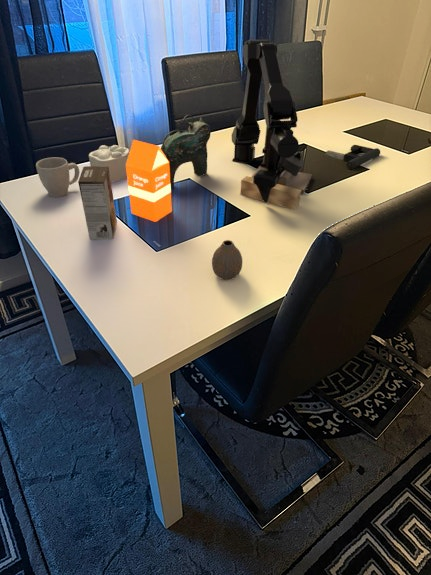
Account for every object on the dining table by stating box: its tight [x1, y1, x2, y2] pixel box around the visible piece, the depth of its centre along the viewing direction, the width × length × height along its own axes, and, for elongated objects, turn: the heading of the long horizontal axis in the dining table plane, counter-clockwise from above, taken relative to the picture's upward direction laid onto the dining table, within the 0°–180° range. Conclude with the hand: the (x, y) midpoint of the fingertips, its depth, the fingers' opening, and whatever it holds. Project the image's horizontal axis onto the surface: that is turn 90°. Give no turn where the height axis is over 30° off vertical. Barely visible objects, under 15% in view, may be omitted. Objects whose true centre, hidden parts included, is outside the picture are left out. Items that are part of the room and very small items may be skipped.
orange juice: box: [126, 139, 173, 223], centre depth 113 cm, size 8×9×20 cm
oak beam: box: [239, 175, 302, 210], centre depth 125 cm, size 18×4×5 cm, turn 59°
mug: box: [35, 156, 81, 198], centre depth 125 cm, size 12×9×10 cm
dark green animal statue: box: [160, 114, 211, 188], centre depth 131 cm, size 20×6×20 cm, turn 134°
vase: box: [211, 239, 243, 281], centre depth 94 cm, size 7×7×9 cm
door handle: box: [325, 144, 381, 170], centre depth 154 cm, size 3×20×16 cm
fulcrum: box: [251, 165, 313, 195], centre depth 135 cm, size 18×13×6 cm
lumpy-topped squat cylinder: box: [88, 144, 130, 183], centre depth 137 cm, size 10×13×9 cm
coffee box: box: [77, 165, 118, 240], centre depth 106 cm, size 9×6×16 cm
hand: (269, 195), depth 126 cm, fingers open, 9 cm apart
